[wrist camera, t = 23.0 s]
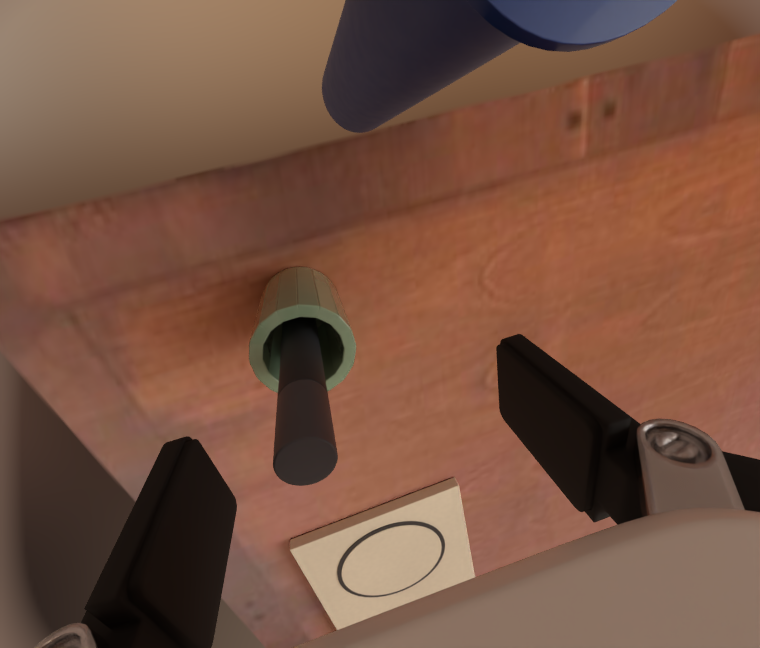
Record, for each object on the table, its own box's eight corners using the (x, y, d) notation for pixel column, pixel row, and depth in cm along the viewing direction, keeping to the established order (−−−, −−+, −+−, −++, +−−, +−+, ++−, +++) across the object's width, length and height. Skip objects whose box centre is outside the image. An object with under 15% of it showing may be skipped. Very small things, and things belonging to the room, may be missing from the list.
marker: (279, 296, 21) (262, 451, 9) (308, 288, 21) (327, 429, 9) (289, 322, 21) (285, 494, 10) (317, 314, 22) (344, 473, 10)
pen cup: (249, 279, 20) (230, 324, 14) (326, 257, 21) (340, 291, 15) (277, 345, 22) (271, 410, 16) (346, 324, 23) (366, 379, 17)
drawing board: (289, 539, 30) (289, 552, 29) (454, 476, 32) (459, 486, 31) (348, 640, 39) (349, 653, 38) (474, 587, 41) (479, 597, 40)
